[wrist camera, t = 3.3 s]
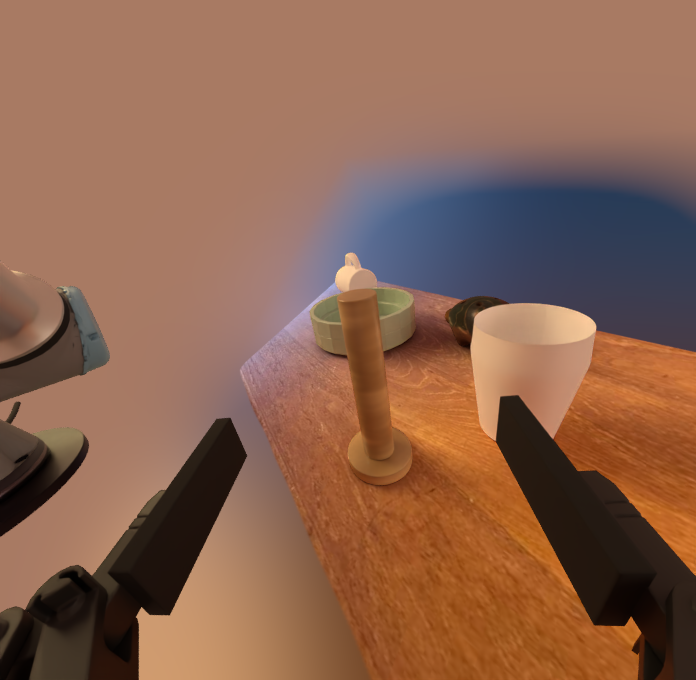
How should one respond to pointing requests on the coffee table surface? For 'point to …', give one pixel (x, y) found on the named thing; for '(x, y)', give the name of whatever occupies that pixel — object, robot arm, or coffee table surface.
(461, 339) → the decorative turtle
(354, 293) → the wooden peg stand
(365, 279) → the mug
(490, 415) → the cup
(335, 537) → the coffee table surface
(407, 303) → the bowl
